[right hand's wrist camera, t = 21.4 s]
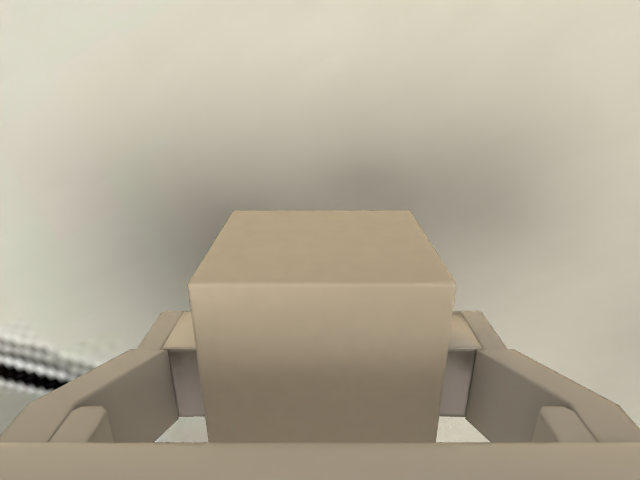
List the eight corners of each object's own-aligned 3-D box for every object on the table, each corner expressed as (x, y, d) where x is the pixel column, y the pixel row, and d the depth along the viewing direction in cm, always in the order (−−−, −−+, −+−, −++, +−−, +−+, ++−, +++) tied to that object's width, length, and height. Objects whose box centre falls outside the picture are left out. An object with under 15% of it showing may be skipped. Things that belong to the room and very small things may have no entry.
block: (410, 209, 11) (458, 282, 7) (397, 367, 13) (430, 493, 9) (232, 209, 11) (185, 283, 7) (245, 368, 13) (214, 493, 9)
